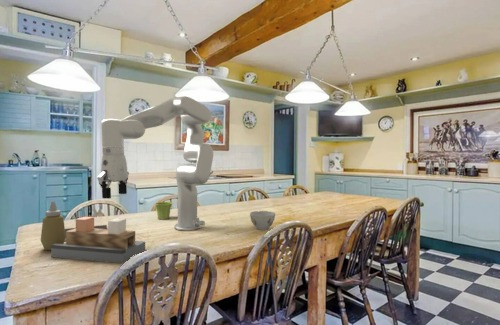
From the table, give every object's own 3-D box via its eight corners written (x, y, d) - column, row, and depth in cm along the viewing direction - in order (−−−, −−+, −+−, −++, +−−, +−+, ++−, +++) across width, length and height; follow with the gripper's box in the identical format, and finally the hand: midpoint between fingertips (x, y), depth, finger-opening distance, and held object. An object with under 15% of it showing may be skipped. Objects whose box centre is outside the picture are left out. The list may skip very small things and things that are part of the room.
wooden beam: (135, 244, 106) (135, 231, 106) (125, 249, 100) (125, 235, 100) (78, 240, 111) (78, 227, 111) (66, 244, 105) (66, 231, 105)
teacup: (280, 229, 142) (280, 213, 141) (262, 233, 133) (262, 216, 133) (259, 223, 153) (259, 208, 153) (241, 227, 145) (241, 211, 145)
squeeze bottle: (48, 244, 114) (48, 199, 113) (70, 244, 115) (69, 199, 114) (35, 251, 106) (34, 203, 105) (58, 251, 107) (58, 203, 106)
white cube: (125, 231, 106) (125, 218, 106) (118, 234, 102) (118, 221, 102) (116, 230, 107) (116, 218, 107) (108, 233, 102) (108, 221, 102)
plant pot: (165, 215, 169) (165, 201, 169) (175, 218, 163) (175, 203, 163) (151, 218, 161) (151, 203, 161) (162, 221, 156) (162, 205, 155)
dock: (145, 249, 110) (145, 238, 110) (122, 262, 96) (122, 250, 96) (81, 244, 115) (81, 234, 115) (51, 256, 101) (51, 244, 101)
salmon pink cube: (94, 228, 109) (94, 217, 108) (85, 232, 104) (85, 219, 104) (84, 228, 109) (84, 216, 109) (75, 231, 105) (75, 219, 105)
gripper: (107, 152, 101) (109, 200, 102) (135, 151, 118) (136, 192, 119) (88, 152, 102) (90, 200, 103) (118, 151, 119) (120, 192, 120)
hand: (115, 195), depth 111 cm, fingers open, 9 cm apart
